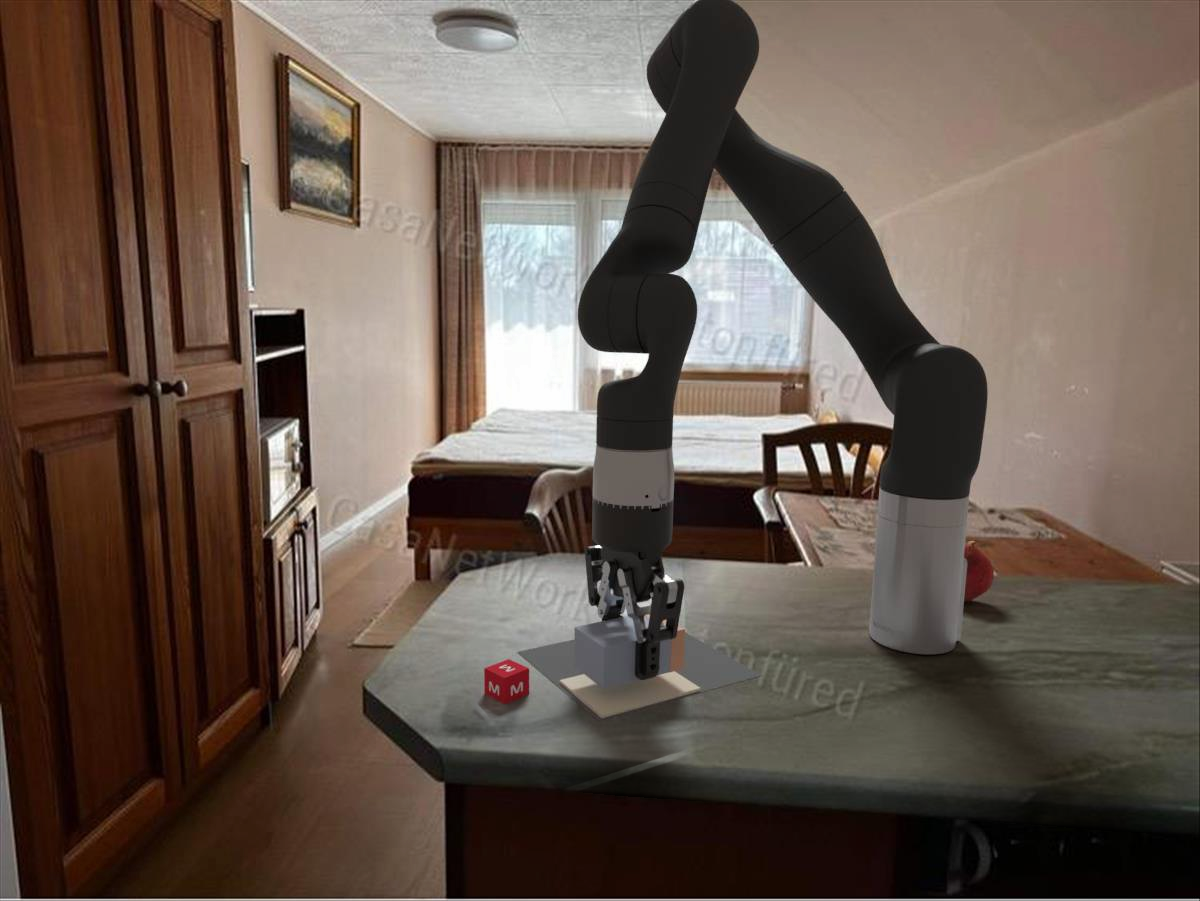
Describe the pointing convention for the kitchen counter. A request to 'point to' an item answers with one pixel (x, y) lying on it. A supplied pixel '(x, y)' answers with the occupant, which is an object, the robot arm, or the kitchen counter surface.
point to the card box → (620, 651)
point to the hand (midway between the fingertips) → (629, 664)
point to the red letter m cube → (506, 681)
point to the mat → (698, 676)
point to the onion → (977, 572)
